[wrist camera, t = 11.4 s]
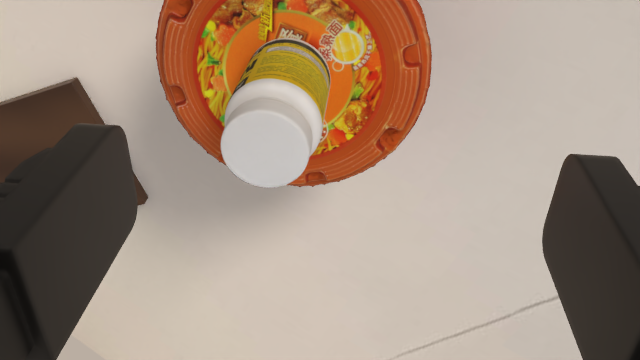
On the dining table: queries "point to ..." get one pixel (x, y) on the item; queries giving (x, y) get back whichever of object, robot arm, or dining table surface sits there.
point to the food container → (335, 46)
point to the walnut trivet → (44, 124)
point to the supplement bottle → (276, 113)
